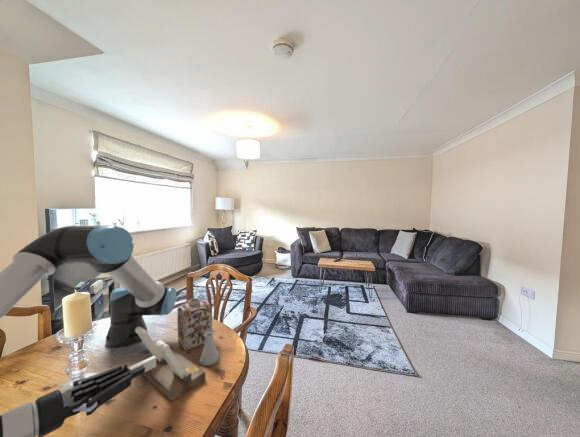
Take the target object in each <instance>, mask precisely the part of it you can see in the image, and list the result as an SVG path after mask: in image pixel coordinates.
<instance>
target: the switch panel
mask: <svg viewBox="0 0 580 437" xmlns="http://www.w3.org/2000/svg"><path fill="white" fill-rule="evenodd" d="M170 349H171V351H172V352H173V354H174V355H175V357H176V359H177V360H178V362H179V363H180V365H181V366H182V368H183V369H184V371H185V373H186V375H185V376H184V379H183V380H182V379H181V378H180V377H179V376H177V375H176V374H175V373H174V372H173V370H172V369H171V367H170V366H169V364H168V363H167V361H166V360H165V359H164V357H163V358H161V361H160V362H159V361H158V360H157V359H156V367H154V368H152V369H150V370H148V371H146V372H144V373H143V374H142V375H143V376H144V377H145V378H146V379H147V380H148V381H149V382H150V383H152V384H153V385H154V386H155V388H157V389H158V390H159V391H160V393H162V394H163V395H164V396H166V397H167V399H168V400H170V401H171V402H173V401H175V400H176V399H178V398H180V397H182V396H183V395H184V394H186V393H187V392H189V391H191V389H193V388H194V387H196V386H197V385H199V384H201V383H202V382H204V381H205V380H206V371H205V370H203V369H202V368H200V367H199V366H197V365H196V364H194V363H193V362H191V361H190V360H189V359H186V358H185V357H184V356H182V355H181V354H179V353H178V352H176V351H175V350H173V349H172V348H170ZM150 357H152V355H151V356H149V357H147V358H144V359H142V360H140V361H137V363H139V362H141V361H143V360H145V359H148V358H150Z"/></svg>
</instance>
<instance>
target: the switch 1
mask: <svg viewBox="0 0 580 437" xmlns="http://www.w3.org/2000/svg"><path fill="white" fill-rule="evenodd" d="M135 332H136V333H137V334H138V335H139V337H140V338H141V340H140V341H142V342H143V344H144V345H145V347H146V348H147V349H148V351H149V353H150V354H151V356H155V357H156V359H157V360H158V361H159V362H160V361H161V358H163V356H162V354H161V353H160V351H159V350H158V348H157V347H156V346H155V344H156V343H155V342H154V340H153V339H152V337H151V336H150V335H149V333H148V330H147V331H146V330H145V329H143V328H142V327H137V328H136V329H135Z"/></svg>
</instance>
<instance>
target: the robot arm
mask: <svg viewBox="0 0 580 437" xmlns="http://www.w3.org/2000/svg"><path fill="white" fill-rule="evenodd" d="M133 240H134V239H133V236H132V234H130V232H129V230H127V229H125V228H124V227H122V226H117V225H110V224H102V225H68V226H62V227H59V228H55V229H53V230H51V231H48V232H46V233H45V234H43V235H40V236H39V237H38V238H36V239H34V240H32V241H31V242H30V243H28V244H27V245H25V246H24V247H23V248H21V249H20V250H19V251H18V252H17V253H15V254H14V255H13V257H12V260H13V261H12V262H11V263H10V264H8V266H6V267H5V268H4V269H2V270H1V271H0V320H2V318H4V316H6V314H8V313H9V311H11V309H13V308H14V307H15V305H17V304H18V303H19V302H20V301H21V300H22V299H23V298H24V297H25V296H26V295H27V294H28V293H29V292H30V291H31V290H32V289H33V288H34V287H35V286H36V285H37V284H38V283H39V282H40V281H41V280H42V279H43V278H44V277H45V276H51V275H53V274H54V273H55V272H56V271H57V270H58V269H59V268H61V267H63V266H66V265H70V264H71V265H72V264H77V265H78V264H79V265H81V264H84V265H87V266H89V267H90V268H91V269H93V270H94V271H95V272H96V273H99V274H107V275H108V276H110V277H111V278H112V279H113V280H115V282H117V283H118V284H119V285H120V286H121V287H118V288H115V289H113V290H112V291H111V292H110V297H109V314H110V326H109V329H108V331H107V335H106V337H105V346H106V347H108V348H120V347H121V348H122V347H126V346H130V345H133V344H135V343H138V342H139V341H142V340H141V338H140V337H139V335H138V334H137V333H136V332H135V329H136V328H137V327H142V328H143V329H145V330H146V331H147V332H148V327H147V324H146V322H145V320H144V318H143V316H168V315H170V313H171V312H172V311H173V310H174V307H175V304H176V300H177V290H176V288H175V287H171V286H170V287H166V286H165V285H164V284H163V283H162V282H160V281H157V280H155V279H154V278H152V276H150V274H149V273H148V272H147V271H146V270H145V269H144V268H143V267H142V266H141V264H140V263H139V262H138V261H137V260H136V259H135V258H134V257H133V253H134V242H133ZM151 356H152V355H151ZM151 356H149V357H150V358H149V357H147V358H148V359H147V358H144V359H145V360H144V359H142V360H143V361H142V360H140V361H141V362H140V361H138V362H139V363H138V362H137V363H135V364H133V365H131V366H129V367H128V364H124V365H123V366H122V365H120V366H117V367H114V368H111V369H108V370H104V371H102V372H99V373H97V374H93V375H91V376H88V377H84V378H79V379H75V380H74V381H73V382H72V387H71V388H68V389H67V390H66V391H64V392H61V390H59V389H55V390H53V391H51V392H48V393H47V394H44V395H41V396H39V397H37V398H36V399H35V400H34V402H33V403H32V401H28V402H25V403H24V404H21V405H19V406H17V407H15V408H12V409H9V410H8V411H5V412H3V413H2V414H0V437H45V436H47V435H49V434H50V433H53V432H54V431H56V430H58V429H60V428H62V426H63V425H64V423H65V420H67V419H68V418H71V417H73V416H76V415H78V414H80V413H81V412H85V413H86V414H85V415H86V416H90V415H92V414H93V413H95V412H96V411H97V410H98V409H99V408H100V407H101V406H102V405H104V404H106V403H107V402H108V401H110V400H112V399H114V398H115V397H116V396H118V395H119V394H121V393H122V392H123V391H125V390H126V389H128V388H129V387H131V386H132V380H133V379H135V378H137V377H139V376H141V375H143V373H144V372H146V371H148V370H150V369H152V368H154V367H156V357H155V356H152V357H151Z"/></svg>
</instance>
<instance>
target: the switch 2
mask: <svg viewBox="0 0 580 437" xmlns="http://www.w3.org/2000/svg"><path fill="white" fill-rule="evenodd" d="M154 344H155V346H156V347H157V348H158V350H159V351H160V353H161V354H162V356H163V357H164V359H165V360H166V361H167V363H168V364H169V366H170V367H171V369H172V370H173V372H174V373H175V374H176V375H177V376H179V377H180V378H181V379H182V380H183V379H184V376H185V375H186V373H185V371H184V369H183V368H182V366H181V365H180V363H179V362H178V360H177V359H176V357H175V355H174V354H173V352H172V351H171V349H172V348H170V345H169V344H167V343H166V342H164V341H163V340H161V339H160V340H157V341H155V343H154Z"/></svg>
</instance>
